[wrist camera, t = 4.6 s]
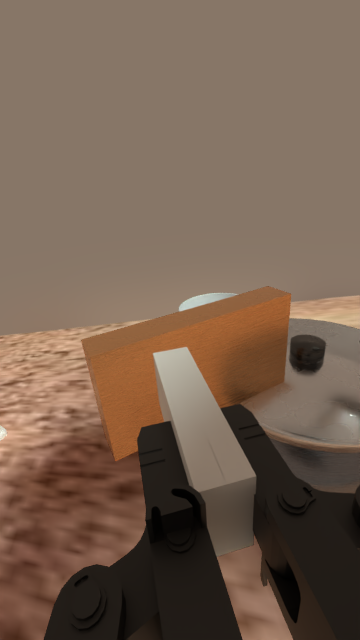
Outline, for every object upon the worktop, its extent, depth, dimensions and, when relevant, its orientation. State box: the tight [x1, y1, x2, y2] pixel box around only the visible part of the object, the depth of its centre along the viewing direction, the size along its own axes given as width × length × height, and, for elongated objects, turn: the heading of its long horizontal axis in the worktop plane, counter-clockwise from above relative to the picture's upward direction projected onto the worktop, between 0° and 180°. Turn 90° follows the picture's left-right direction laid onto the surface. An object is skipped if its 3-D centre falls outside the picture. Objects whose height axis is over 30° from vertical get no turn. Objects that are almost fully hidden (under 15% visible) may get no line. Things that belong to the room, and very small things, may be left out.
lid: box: [81, 286, 360, 461], centre depth 25 cm, size 28×19×9 cm, turn 118°
